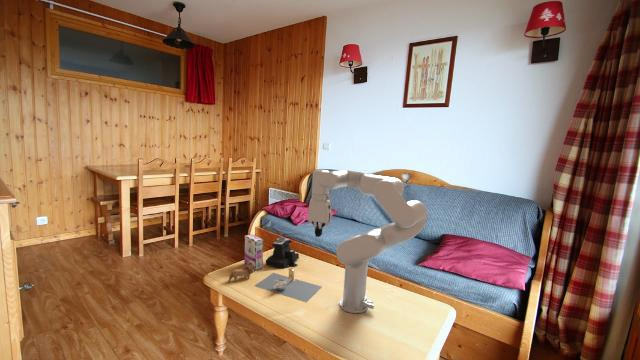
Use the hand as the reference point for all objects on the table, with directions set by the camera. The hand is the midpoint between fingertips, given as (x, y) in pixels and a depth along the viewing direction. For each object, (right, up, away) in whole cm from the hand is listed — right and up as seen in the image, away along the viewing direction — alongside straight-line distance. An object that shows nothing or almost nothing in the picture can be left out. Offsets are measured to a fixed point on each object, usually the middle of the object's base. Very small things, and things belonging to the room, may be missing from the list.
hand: (318, 236), depth 145 cm
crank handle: (-16, -24, +5) cm, 30 cm away
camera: (-19, -21, +33) cm, 44 cm away
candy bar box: (-36, -21, +27) cm, 50 cm away
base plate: (-14, -26, +5) cm, 30 cm away
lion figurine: (-38, -24, +10) cm, 46 cm away
